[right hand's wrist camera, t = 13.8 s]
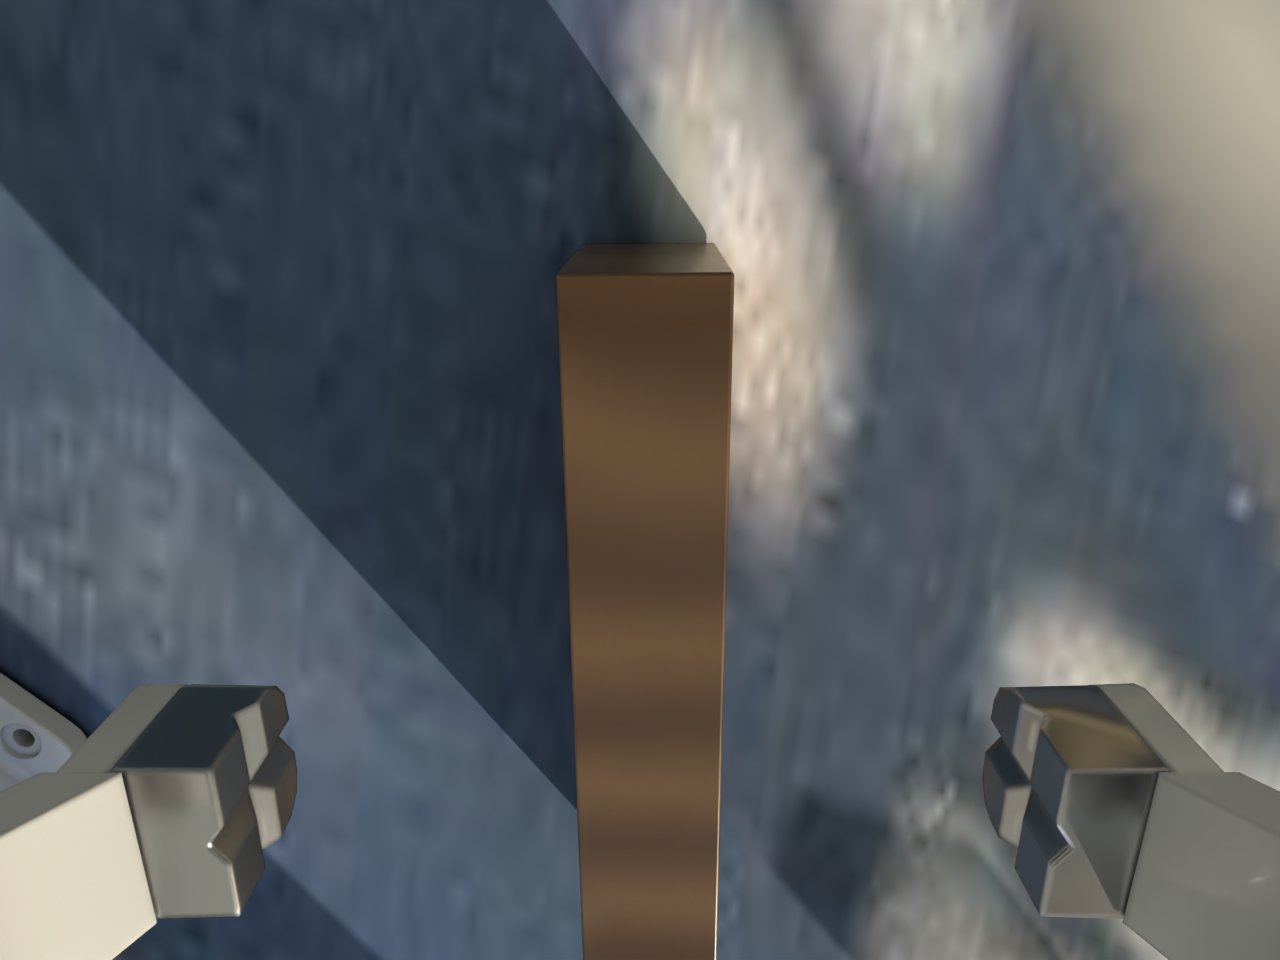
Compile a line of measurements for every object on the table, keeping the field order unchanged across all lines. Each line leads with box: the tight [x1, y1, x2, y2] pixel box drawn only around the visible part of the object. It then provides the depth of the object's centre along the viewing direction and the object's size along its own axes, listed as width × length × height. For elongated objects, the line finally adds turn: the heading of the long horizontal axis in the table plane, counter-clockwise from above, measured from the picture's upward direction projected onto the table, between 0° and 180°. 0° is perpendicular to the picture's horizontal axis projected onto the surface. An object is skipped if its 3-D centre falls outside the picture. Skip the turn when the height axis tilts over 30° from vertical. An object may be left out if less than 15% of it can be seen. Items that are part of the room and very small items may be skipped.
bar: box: [556, 243, 734, 960], centre depth 31 cm, size 25×4×8 cm, turn 1°
